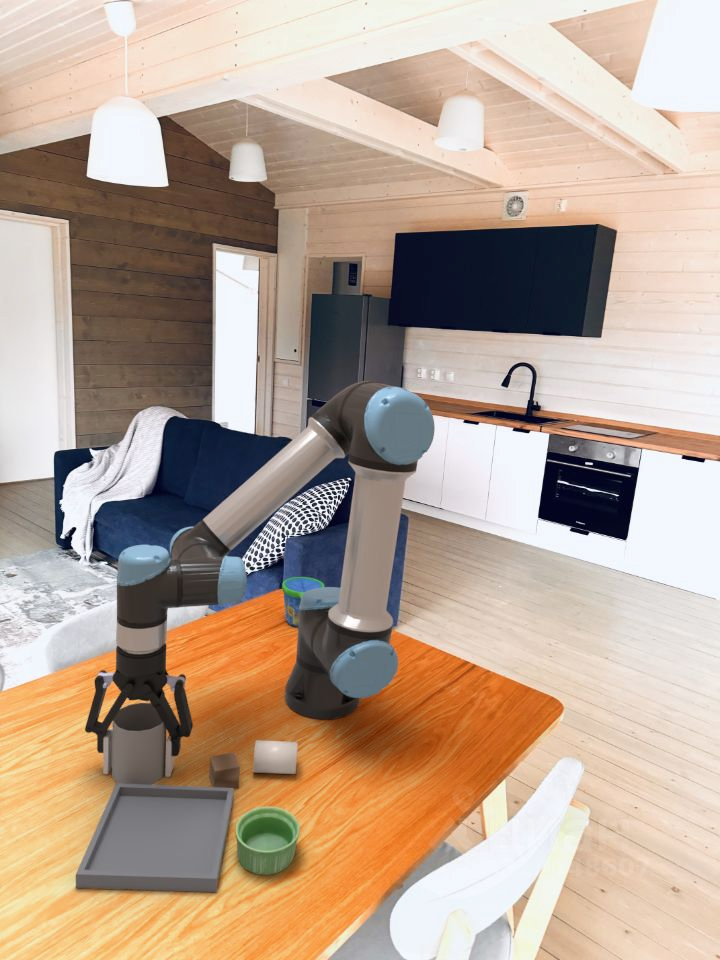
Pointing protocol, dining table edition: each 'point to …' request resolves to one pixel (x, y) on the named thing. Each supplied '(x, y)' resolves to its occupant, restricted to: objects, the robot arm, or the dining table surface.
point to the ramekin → (266, 840)
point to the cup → (138, 745)
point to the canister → (275, 757)
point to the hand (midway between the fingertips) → (138, 770)
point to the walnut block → (224, 771)
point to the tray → (158, 839)
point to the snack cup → (296, 595)
